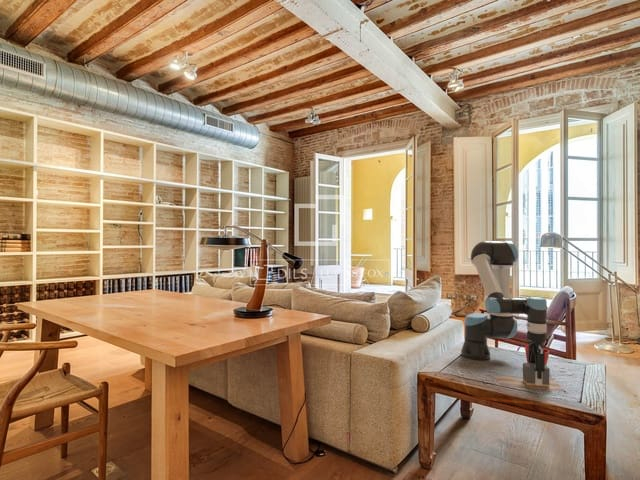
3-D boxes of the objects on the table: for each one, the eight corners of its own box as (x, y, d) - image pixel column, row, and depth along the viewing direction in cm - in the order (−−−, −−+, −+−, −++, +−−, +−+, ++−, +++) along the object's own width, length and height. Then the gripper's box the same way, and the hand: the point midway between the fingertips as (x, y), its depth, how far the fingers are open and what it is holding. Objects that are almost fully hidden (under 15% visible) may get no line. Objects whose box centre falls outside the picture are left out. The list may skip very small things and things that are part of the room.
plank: (493, 376, 177) (493, 374, 177) (553, 381, 172) (553, 379, 172) (500, 387, 164) (500, 385, 164) (565, 393, 159) (565, 391, 159)
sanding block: (522, 379, 171) (522, 362, 171) (544, 381, 169) (544, 364, 169) (527, 384, 165) (527, 367, 165) (549, 386, 163) (549, 368, 163)
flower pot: (542, 364, 194) (542, 346, 194) (553, 372, 184) (553, 352, 183) (521, 363, 196) (521, 345, 195) (530, 371, 185) (531, 352, 184)
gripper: (520, 326, 177) (520, 373, 177) (534, 336, 158) (534, 390, 159) (538, 327, 175) (537, 375, 176) (554, 337, 157) (553, 391, 157)
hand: (535, 382), depth 167 cm, fingers closed on sanding block, 6 cm apart
